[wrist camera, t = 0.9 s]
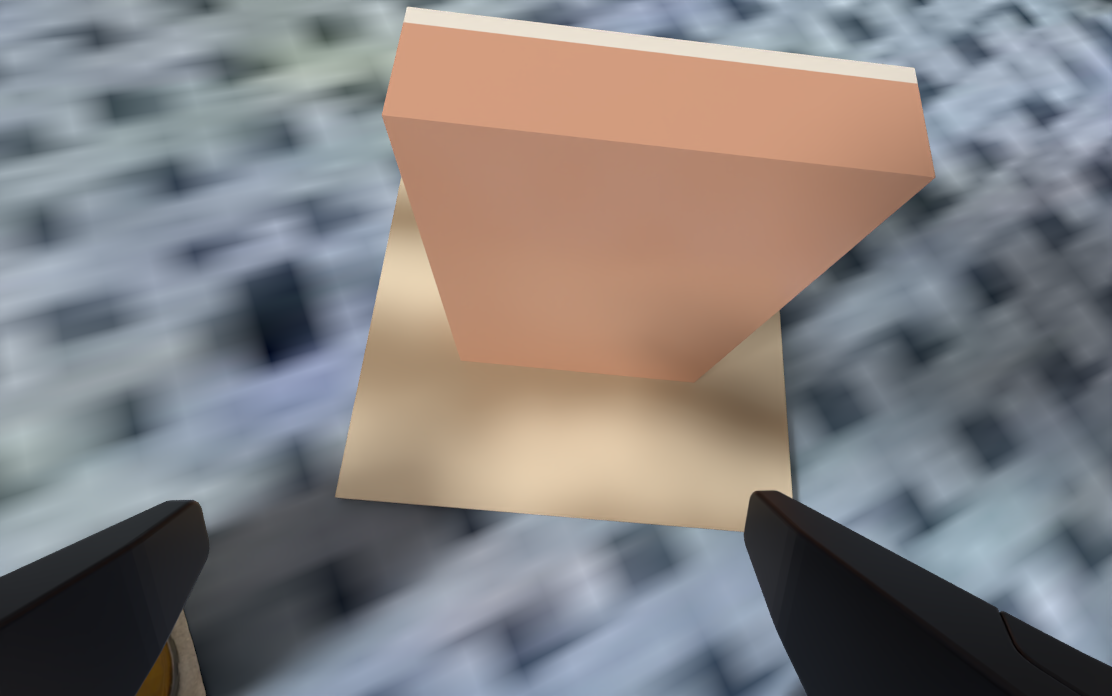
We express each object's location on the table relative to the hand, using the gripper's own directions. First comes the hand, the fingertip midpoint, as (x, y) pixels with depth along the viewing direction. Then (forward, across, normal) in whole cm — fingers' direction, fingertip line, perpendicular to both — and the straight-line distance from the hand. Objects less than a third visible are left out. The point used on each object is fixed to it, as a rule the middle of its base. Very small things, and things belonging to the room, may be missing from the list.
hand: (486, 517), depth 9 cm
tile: (+14, -3, +2) cm, 15 cm away
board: (+18, -4, -2) cm, 18 cm away
